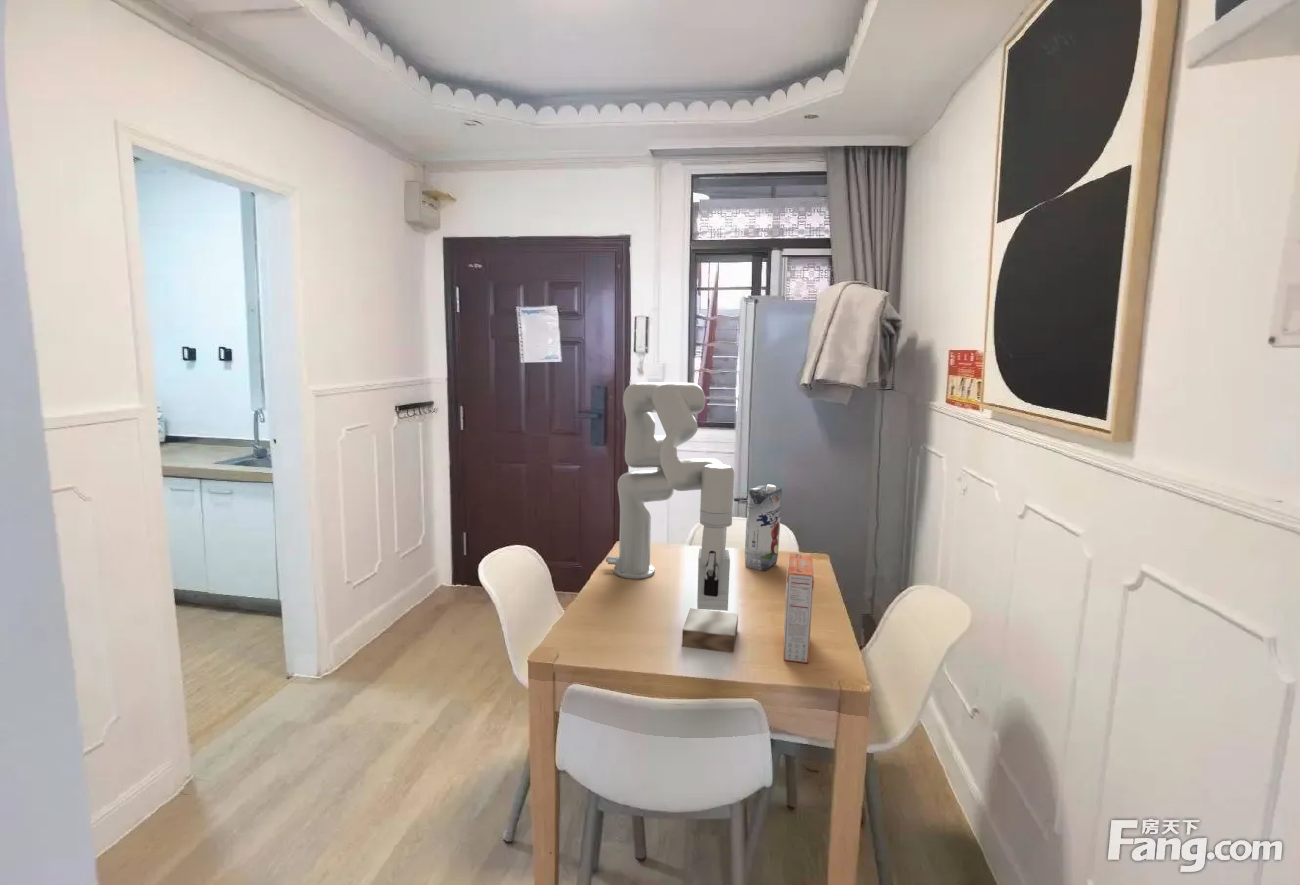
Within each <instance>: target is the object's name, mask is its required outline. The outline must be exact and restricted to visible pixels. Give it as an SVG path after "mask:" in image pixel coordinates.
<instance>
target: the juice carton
mask: <svg viewBox="0 0 1300 885" xmlns="http://www.w3.org/2000/svg"><path fill="white" fill-rule="evenodd" d="M782 491H783V489H782V488H780V487H777V486H776V485H774V484H767V485H762V484H760V485H758V486H756V487H754V488H749V489H748V492H747V505H746V507H747V508H746V523H745V541H744V542H745V544H744V566H745V567H746V568H749V569H753V570H758V571H761V572H767V571H768V570H769V569H771V568H772V567H774V566H775V565H777V562H778V557H779V546H780V544H779V543H780V532H781V529H780V528H781V512H782Z"/></svg>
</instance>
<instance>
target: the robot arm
mask: <svg viewBox="0 0 1300 885" xmlns="http://www.w3.org/2000/svg"><path fill="white" fill-rule="evenodd" d="M622 397H623V398H622V405H623V410H624V414H625V420H626V428H625V440H624V441H625V442H624V461H625V463H626V465H627V466H628V467H629V468H630V467H631V468H633V469H649V468H656V469H654V470H651V469H650V470H636V471H635V470H634V471H628V472H624V473H623V474H622V475H620V476H619V478H618V480H617V493H618V500H619V502H618V503H619V546H618V548H619V550H618V551H619V552H618V553H619V555H616V556H613V555H606V558H605V562H606V563H607V564H608V565H614V567H613V572H614V574H615V575H617V576H618V577H621V578H624V579H630V580H631V579H632V580H634V579H635V580H640V579H647V578H650V577H652V576H653V575H654V574H655V568H656V567H655V566H653V565H652V564H651V541H652V540H651V538H652V537H651V536H652V534H651V533H652V517H651V513H650V511H649V510H648V509H647V507H646V505H645V503H652V502H653V503H654V502H662V501H667V500H670V499H671V498H672V497H673V494H674V492H675V491H678V492H685V491H696V490H697V491H698V490H700V505H699V506H700V509H699V524H700V525H702V526H703V528H702V536H701V539H702V540H701V548H700V549H701V563H700V566H701V567H703V566H704V567H705V566H706V574H705V579H704V595H705V596H715V597H717V596H718V581H719V579H717V577H718V569H719V568H721V565H722V559H723V557H724V553H725V550H726V543H727V528H729V527H731V526H732V525H733V510H734V508H733V506H734V489H735V488H734V487H735V486H734V485H735V471H734V468H733V467H731V466H730V465H727V464H723V463H722V462H721V461H720V460H718V459H716V458H690V459H689V458H686V459H680V458H679V457H678V449H677V447H680V446H681V445H682V444H685V443H686V442H688V441H690V440H691V439H693V437H694V436H695V435H696V433H697V431H698V429H699V426H698V423H697V420H696V417H695V415H697V414H700V413H701V412H703V410H704V409H705V406H706V396H705V392H704V389H702V387H701V386H700V385H699V384H697V383H693V382H638V383H637V382H635V383H631V384H629V385H628V386H627V387H626V388H625V390H624V393H623V396H622ZM652 413H656V414H657V417H658V419H659V421H660V424H661V425H662V428H663V431H664V433H665V435H655V433H656V421H655V419H654V416H653V415H652ZM715 554H716V556H715ZM708 560H709V562H708V563H707V561H708ZM715 560H716V562H717V566H714V561H715ZM706 563H707V564H706ZM714 570H715V571H714Z"/></svg>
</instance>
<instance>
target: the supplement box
mask: <svg viewBox="0 0 1300 885" xmlns="http://www.w3.org/2000/svg"><path fill="white" fill-rule="evenodd" d="M701 549H702V548H699V549H698V550H699V551H698V557H697V558H698V563H697V564H698V565H697V566H698V567H697V568H698V569H697V595H696V596H697V599H696V601H697V604H696V605H697V608H696V609H700V610H709V611H724V612H726V611H728V610H729V592H730V591H729V590H730V572H731V571H730V569H731V556H730V551H729V549H725V553H724V557H723V559H722V565H721V568H719V569H718V577H717V579H719V581H718V596H717V597H715V596H705V595H704V579H705V574H706V566H705V567H704V566H703V567H701V566H700V563H701ZM715 556H716V554H715ZM708 562H709V560H708V561H707V563H708ZM707 563H706V564H707ZM714 566H717V562H716V560H715V561H714ZM714 571H715V570H714Z"/></svg>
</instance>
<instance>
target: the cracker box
mask: <svg viewBox="0 0 1300 885" xmlns="http://www.w3.org/2000/svg"><path fill="white" fill-rule="evenodd" d="M813 563H814V561H813V555H806V554H805V555H804V554H796V553H789V554H788V559H787V568H786V569H787V570H786V586H785V587H786V588H785V599H784V600H785V604H784V605H785V606H784V626H783V628H784V629H783V661H786V662H787V661H788V662H792V663H793V662H794V663H795V662H796V663H802V664H809V662H810V645H811V631H812V628H811V627H812V612H813V598H814V597H813V596H814V583H815V575H814V564H813Z"/></svg>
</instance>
